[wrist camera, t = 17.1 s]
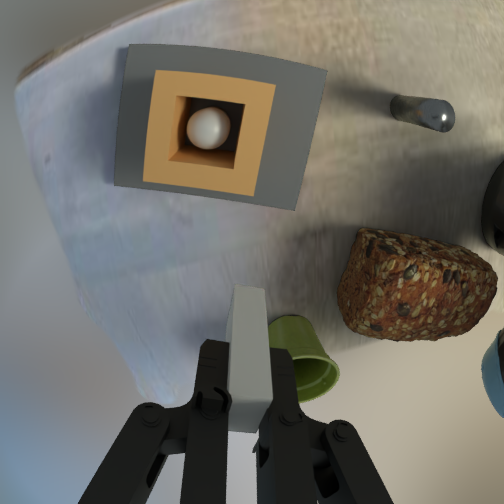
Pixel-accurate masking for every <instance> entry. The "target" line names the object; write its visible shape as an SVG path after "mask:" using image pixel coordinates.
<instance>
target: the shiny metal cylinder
mask: <svg viewBox="0 0 504 504" xmlns="http://www.w3.org/2000/svg"><path fill="white" fill-rule="evenodd" d="M390 110H391V113H392V115H393V117H394V118H395V119H397V120H399V121H403V122H407V123H411V124H414V125H418V126H422V127H426V128H429V129H433V130H436V131H439V132H448V131H449V130H451V129H452V127H453V126H454V123H455V112H454V109H453V107H452V106H451V104H450V103H448V102H447V101H445V100H439V99H431V98H423V97H414V96H403V95H398V96H396V97H394V98H393V99H392V101H391V104H390Z"/></svg>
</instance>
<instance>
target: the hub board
mask: <svg viewBox="0 0 504 504" xmlns="http://www.w3.org/2000/svg"><path fill="white" fill-rule="evenodd" d="M156 70H166V71H181V72H193V73H203V74H211V75H219V76H227V77H234V78H240V79H247V80H252V81H258V82H264V83H269V84H274V85H276V87H275V92H274V97H273V102H272V107H271V112H270V117H269V121H268V126H267V131H266V136H265V141H264V146H263V151H262V156H261V161H260V166H259V171H258V176H257V181H256V186H255V191H254V196H248V195H242V194H235V193H229V192H222V191H215V190H208V189H201V188H194V187H186V186H178V185H170V184H162V183H154V182H145V181H143V172H144V159H145V148H146V138H147V129H148V120H149V112H150V105H151V98H152V91H153V84H154V78H155V72H156ZM326 75H327V70H324V69H320V68H316V67H313V66H309V65H305V64H301V63H297V62H292V61H288V60H283V59H279V58H274V57H269V56H264V55H258V54H252V53H246V52H240V51H233V50H225V49H217V48H208V47H198V46H185V45H166V44H129V48H128V53H127V59H126V65H125V71H124V77H123V84H122V91H121V99H120V107H119V117H118V127H117V139H116V153H115V173H114V186H122V187H132V188H141V189H149V190H158V191H166V192H174V193H181V194H189V195H196V196H204V197H211V198H218V199H224V200H231V201H238V202H244V203H251V204H257V205H263V206H269V207H275V208H281V209H287V210H293V211H295V208H296V204H297V200H298V196H299V192H300V188H301V184H302V180H303V176H304V172H305V168H306V163H307V159H308V155H309V151H310V147H311V142H312V138H313V134H314V129H315V125H316V121H317V116H318V112H319V107H320V103H321V98H322V94H323V89H324V85H325V80H326ZM242 110H243V104H241V103H235V102H228V101H221V100H213V99H205V98H197V97H192V99H191V105H190V111H189V118H188V124H187V131H186V138H185V145H190V146H197V147H199V148H202V149H220V150H227V151H233V152H235V148H236V142H237V137H238V131H239V126H240V120H241V115H242Z"/></svg>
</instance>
